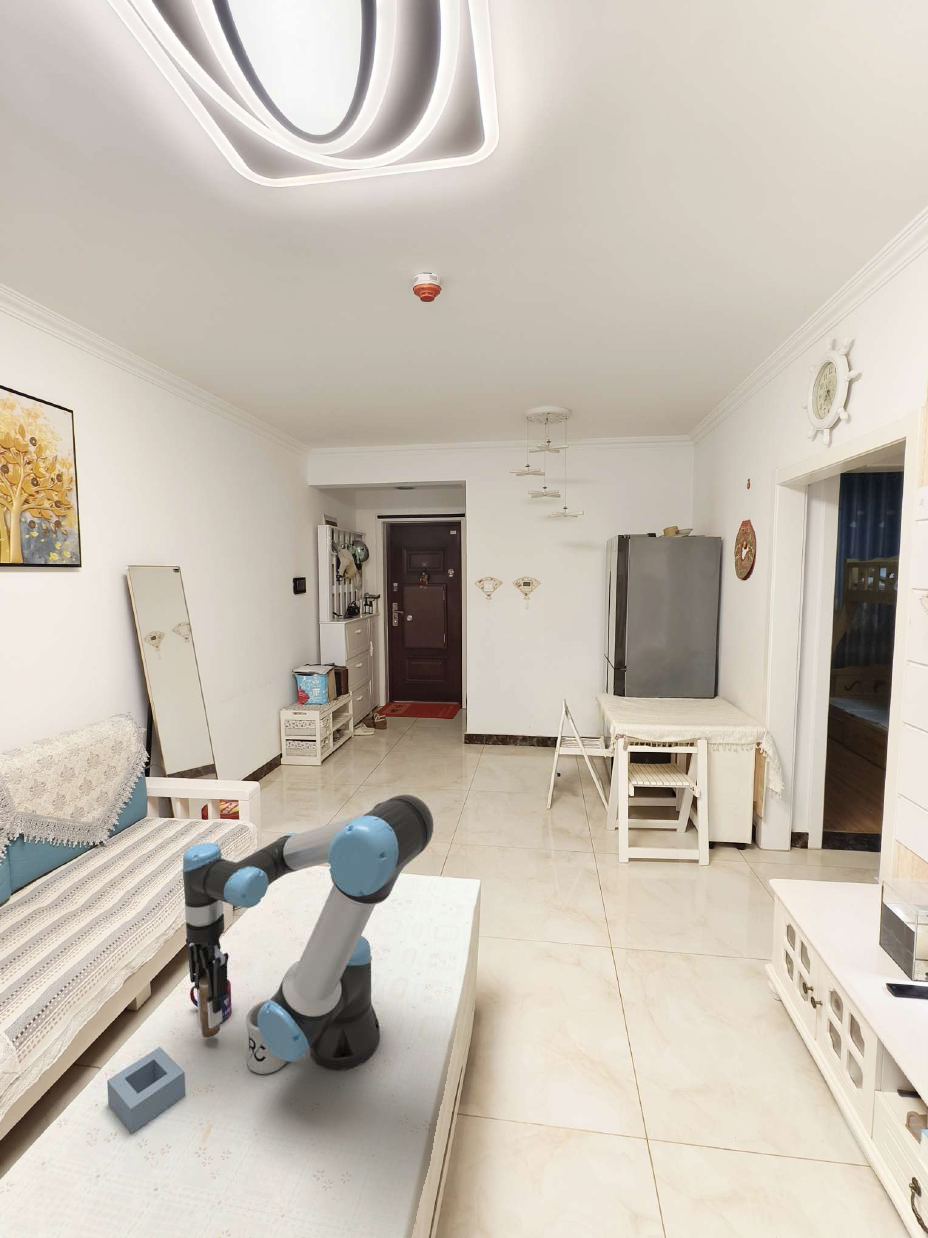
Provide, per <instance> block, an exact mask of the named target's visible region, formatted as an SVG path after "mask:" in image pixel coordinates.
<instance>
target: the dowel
mask: <svg viewBox="0 0 928 1238" xmlns="http://www.w3.org/2000/svg"><path fill="white" fill-rule="evenodd" d="M199 987H200V1005H201V1020H200V1022H201V1023H200V1024H201V1035H202V1037H203V1038H212V1037H214V1036H215V1035H218V1033H219V1032H220V1029H221V1023H219V1024H217V1025H216V1026H214V1027H213V1028H211V1029H210V1028H209V1023H208V1004H207V1000H206V999H207V998H209V997H210V996H209V989H208V982H207V975H204V976H203V977H201V978H200V980H199Z"/></svg>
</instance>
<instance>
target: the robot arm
mask: <svg viewBox="0 0 928 1238" xmlns="http://www.w3.org/2000/svg"><path fill="white" fill-rule="evenodd" d="M433 833H434V819H433V814H432V812H431V810H430V808H429V806H428V805H427V804H426V803H425V802H424V801H423V799H420V798H418V797H417V796H414V795H411V794H401V795H400V794H399V795H396V796H393V797H391V798H389V799H387V800H385V801H382V802H379V803H377V804H376V805H374V806H373V807H372V809H371V810H369V811H368V812H364V813H362V814H358V815H354V816H352V817H349V818H344V819H342V820H339V821H335V822H332V823H329V824H326V825H323V826H320V827H316V828H313V829H310V830H309V829H308V830H307V831H304V832H301V833H295V832H291V833H288V834H286V835H283V836H281V837H279V838H277V839H276V840H275V841H273V842H271V843H270V844H268V845H266V846H264V847H263V848H260V849H259V850H257V851H255V852H253V853H252V854H250V855H248V856H246V857H245V858H243V859H241V860H239V861H236V862H235V861H231V860H228V859H225V858H222V849H221V846H219V844H217V843H215V842H202V843H199V844H196V845H195V844H194V846H191V847H189V848H188V849H187V850H186V851H185V852H184V854H183V858H182V869H181V870H182V875H183V876H182V877H183V892H184V894H183V895H184V913H185V915H184V916H185V922H186V923H185V927H186V929H185V930H186V932H185V933H186V938H185V943H186V947H187V957H188V967H189V969H188V971H189V980H190V982H191V984H193V983H194V985H195V988H194V989H196V997H197V998H196V1000H197V1001H198V1007H197V1014H198V1015H197V1016H198V1020H199V1021H201V1005H200V987H199V980H200V978H201V977H203V976H204V975H207V982H208V989H209V996H210V997H209V998H207V999H206V1000H207V1004H208V1023H209V1028H210V1029H211V1028H213V1027H214V1026H216V1025H217V1024H219V1023H220V1022H222V1005H221V998H222V997H224V996H226V995H227V994H228V988H227V979H228V961H229V958H230V957H229V953H228V952H224V953H223V952H222V950H221V949H222V948H221V943H220V937H221V936H222V935H223V933H224V931H225V915H224V903H227V904H229V905H231V906H233V907H241V908H245V909H250V908H253V907H256V906H257V905H258V904H259V903H261V900H262V899H263V898H264V897H265V896H266V893H267V890H268V887H269V886H270V885H271V884H273V883H275V881H276V880H279V879H281V878H282V877H283V876H285V875H287V874H290V873H294V872H297V871H301V870H304V869H309V868H313V867H316V866H319V865H323V864H326V863H328V864H329V865H330V868H329V873H330V879H331V882H332V886H331V890H330V891H329V894H328V895H327V898H326V900H325V902H324V905H323V907H322V910H321V911H320V914H319V915H318V918H317V921H316V923H315V924H314V927H313V929H312V932H311V933H310V934H311V935H310V937H309V939H308V940H307V942H306V945H305V948H304V950H303V952H302V955H301V956H300V958H299V960H298V961H296V962H294V963H293V964H292V965H291V966H290V967H288V969H287V970H286V972H285V974H284V975H283V978H282V980H281V982H280V985H279V988H278V990H277V991H276V992H275V994H274V995H273V996H272V997H270V998H269V999H270V1000H269V999H266V1000H267V1001H266V1000H265V1001H266V1002H265V1004H264V1005H263V1006H262V1007H261V1008H260V1010H259V1013H258V1019H257V1021H258V1028H259V1031H260V1033H261V1036H262V1038H263V1040H264V1042H265V1044H266V1045H267V1047H268V1048H269V1049H270V1050H271V1051H272V1052H273V1053H274V1054H275V1055H276V1056H277V1057H279V1058H280V1059H282V1060H286V1061H287V1062H290V1063H291V1062H296V1061H298V1060H299V1059H300V1058H302V1057H303V1056H304V1055H305V1054H306V1053H308V1052H309V1053H310V1056H311V1058H312V1059H313V1060H314V1062H315V1063H316V1064H318V1065H319V1066H321V1067H323V1068H325V1069H328V1070H335V1071H338V1070H339V1071H341V1070H342V1071H343V1070H348V1069H351V1068H354V1067H355V1068H356V1066H359V1065H361V1064H362V1063H364V1062H365V1061H367V1060H368V1059H369V1058H370V1057H372V1056H373V1054H374V1053H375V1052H376V1051H377V1048H378V1046H379V1043H380V1039H381V1038H380V1035H381V1033H380V1032H381V1029H380V1028H381V1027H380V1023H379V1020H378V1017H377V1014H376V1011H375V1010H374V1006H373V1004H372V960H373V957H372V952H371V944H370V942H369V940H368V939H367V938H366V937H364V936H363V935H362V934H363V933H364V930H365V928H366V926H367V923H368V921H369V919H370V917H371V915H372V914H373V911H374V908H375V907H376V905H378V904H381V903H383V902H384V901H385V900H386V899H387V898H389V896H390V895H391V893H392V891H393V888H394V886H395V885H396V882H397V880H398V878H399V876H400V875H401V873H402V871H403V869H404V868H405V867H406V866H407V865H409V864H410V863H411V862H412V861H413V860H414V859H415V858H417V857H418V856H419V855H420V854H421V853H422V852H424V851H425V850H426V848H427V847H428V846H429V843H430V842H431V840H432V837H433ZM222 1023H223V1022H222ZM220 1024H221V1023H220Z"/></svg>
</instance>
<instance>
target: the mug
mask: <svg viewBox="0 0 928 1238" xmlns="http://www.w3.org/2000/svg"><path fill="white" fill-rule="evenodd" d="M270 999H271V998H269V999H266V1000H262V1001H261V1002H258V1003H257V1004H255V1005H254V1006H252V1008H251V1009H250V1010H249V1011H248V1013H247V1015H246V1018H245V1023H246V1029H247V1049H246V1051H247V1052H246V1064H247V1067H248V1069H249V1070H250V1071H252V1072H254V1073H257V1074H259V1075H260V1074H261V1075H266V1074H271V1073H275V1072H276V1071H278V1070H280V1069H281V1068H283V1066H284V1065H286V1063H287V1062H288V1061H286V1060H282V1059H280V1058H279V1057H277V1056H276V1055H275V1054H274V1053H273V1052H272V1051H271V1050H270V1049H269V1048H268V1047H267V1045H266V1044H265V1042H264V1040H263V1038H262V1036H261V1033H260V1031H259V1028H258V1021H257V1019H258V1013H259V1010H260V1008H261V1007H262V1006H263V1005H264V1004H265V1002H266V1001H267V1000H270Z"/></svg>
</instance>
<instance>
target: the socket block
mask: <svg viewBox="0 0 928 1238" xmlns="http://www.w3.org/2000/svg"><path fill="white" fill-rule="evenodd" d="M185 1077H186V1075H185V1070H184V1069H182V1068H181V1066H179V1064H177V1062H176V1061H175V1060H174V1059H172V1058H171V1057H170V1055H169V1054H167V1052H166V1051H165V1050H164V1049H163V1048H162V1047H161V1046H158V1048H155V1049H154V1050H152V1051H151V1052H150V1053H148V1054H146V1055H145V1056H143V1057H141V1058H139V1059H138V1060H136V1061H135V1062H134V1063H132V1064H131V1065H129V1066H127V1067H126V1068H124V1069H123V1070H120V1071H119V1072H118V1073H116V1074H115V1075H113V1076H111V1077H110V1078H108V1079H107V1080H106V1081H107V1082H106V1083H107V1086H106V1087H107V1102H108V1103H107V1105H108V1106H109V1107H110V1108H111V1110H112V1111H113V1112H114V1113H115V1115H116V1116H117V1117H118V1118H119V1120H120V1121H121V1123H122V1124H123V1125H124V1126H125V1128H126V1129H127V1130H128V1131H129V1133H131V1135H133V1134H135V1133H136V1132H138V1131H139V1130H140V1129H141V1128H142V1127H144V1126H145V1125H147V1124H149V1122H151V1121H152V1120H154V1119H155V1118H157V1117H158V1116H159V1115H160V1114H162V1113H163V1112H164V1111H166V1110H167V1109H169V1108H170V1107H171V1106H174V1104H175V1103H177V1102H178V1101H180V1100H182V1099H183V1098H184V1097H185V1096H186V1079H185Z"/></svg>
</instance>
